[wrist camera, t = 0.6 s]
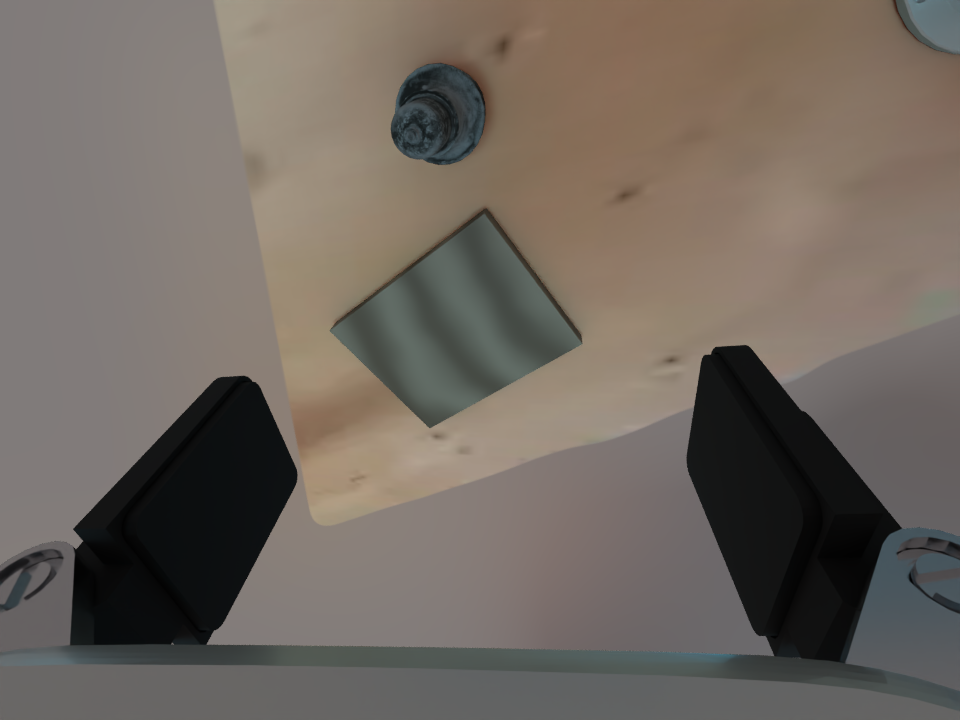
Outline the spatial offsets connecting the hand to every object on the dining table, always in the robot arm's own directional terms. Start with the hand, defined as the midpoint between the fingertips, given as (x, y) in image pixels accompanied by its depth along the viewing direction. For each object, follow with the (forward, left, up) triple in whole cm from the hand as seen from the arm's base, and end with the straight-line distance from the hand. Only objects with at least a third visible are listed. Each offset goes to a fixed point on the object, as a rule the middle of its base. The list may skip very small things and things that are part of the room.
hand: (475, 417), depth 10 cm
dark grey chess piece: (+2, -6, -30) cm, 30 cm away
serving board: (+13, +8, -30) cm, 33 cm away
